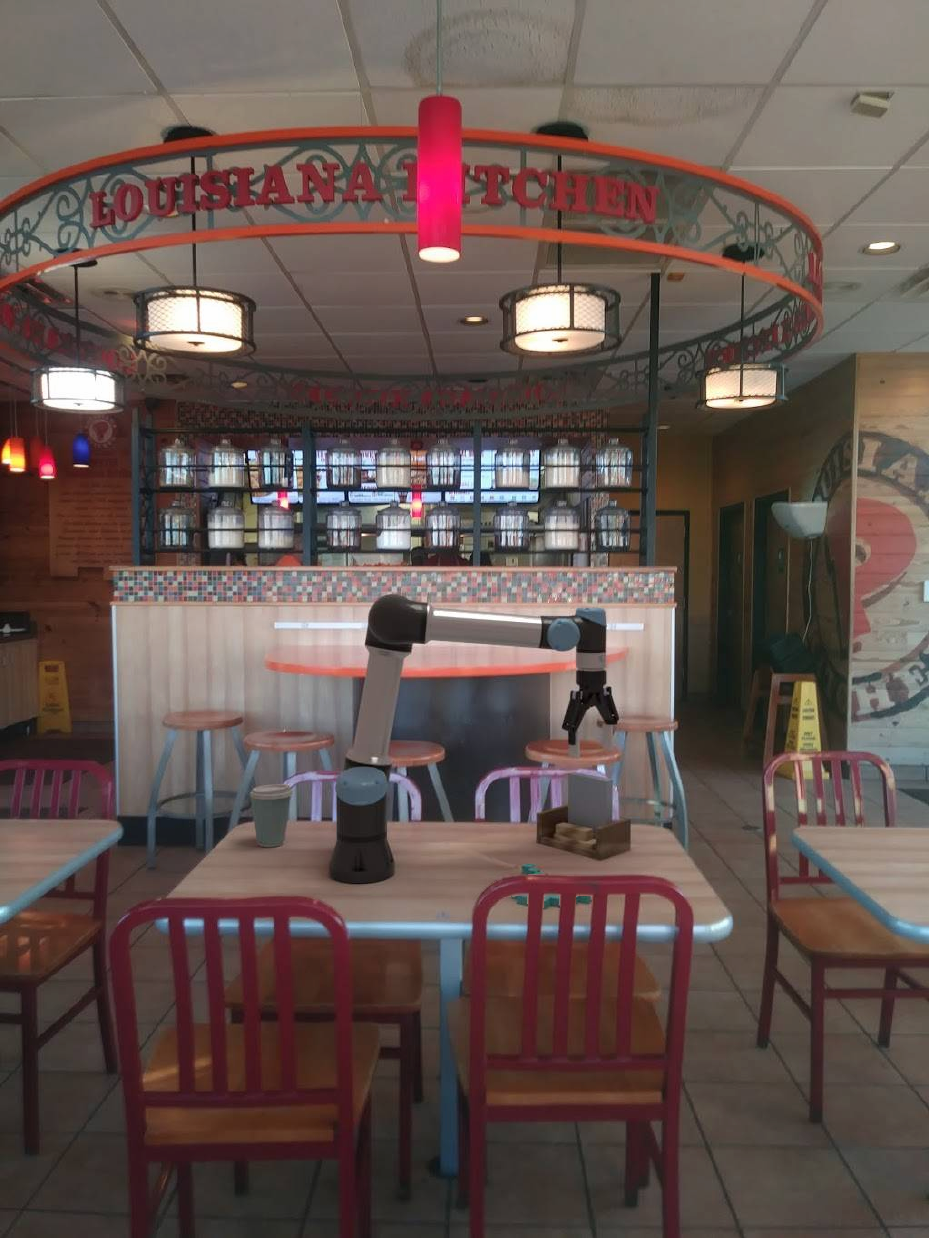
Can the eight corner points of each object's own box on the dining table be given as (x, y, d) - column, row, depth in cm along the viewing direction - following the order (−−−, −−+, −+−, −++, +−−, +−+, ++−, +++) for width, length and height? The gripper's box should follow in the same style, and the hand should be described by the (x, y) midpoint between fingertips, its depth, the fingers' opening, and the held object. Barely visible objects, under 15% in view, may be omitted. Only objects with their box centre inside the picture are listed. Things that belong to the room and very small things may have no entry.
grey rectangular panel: (567, 839, 224) (568, 773, 223) (574, 837, 225) (574, 772, 225) (606, 849, 215) (606, 781, 214) (612, 847, 217) (612, 779, 216)
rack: (536, 848, 221) (536, 812, 221) (566, 838, 230) (566, 804, 229) (600, 866, 207) (601, 829, 207) (630, 855, 215) (630, 819, 215)
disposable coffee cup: (242, 848, 221) (241, 789, 220) (262, 836, 232) (261, 780, 231) (281, 851, 219) (280, 792, 218) (299, 839, 229) (298, 782, 228)
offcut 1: (555, 834, 219) (555, 824, 219) (562, 832, 222) (563, 822, 221) (586, 841, 213) (586, 831, 213) (593, 838, 216) (593, 828, 216)
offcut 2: (553, 844, 220) (553, 834, 220) (563, 840, 223) (563, 831, 222) (591, 854, 211) (592, 844, 211) (602, 851, 214) (602, 841, 214)
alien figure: (526, 872, 205) (488, 900, 187) (526, 863, 204) (488, 889, 187) (608, 886, 195) (576, 917, 178) (608, 876, 195) (576, 906, 177)
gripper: (571, 674, 207) (571, 763, 208) (632, 666, 224) (632, 748, 225) (547, 672, 212) (547, 759, 213) (608, 664, 230) (609, 744, 231)
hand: (591, 753), depth 219 cm, fingers open, 13 cm apart
